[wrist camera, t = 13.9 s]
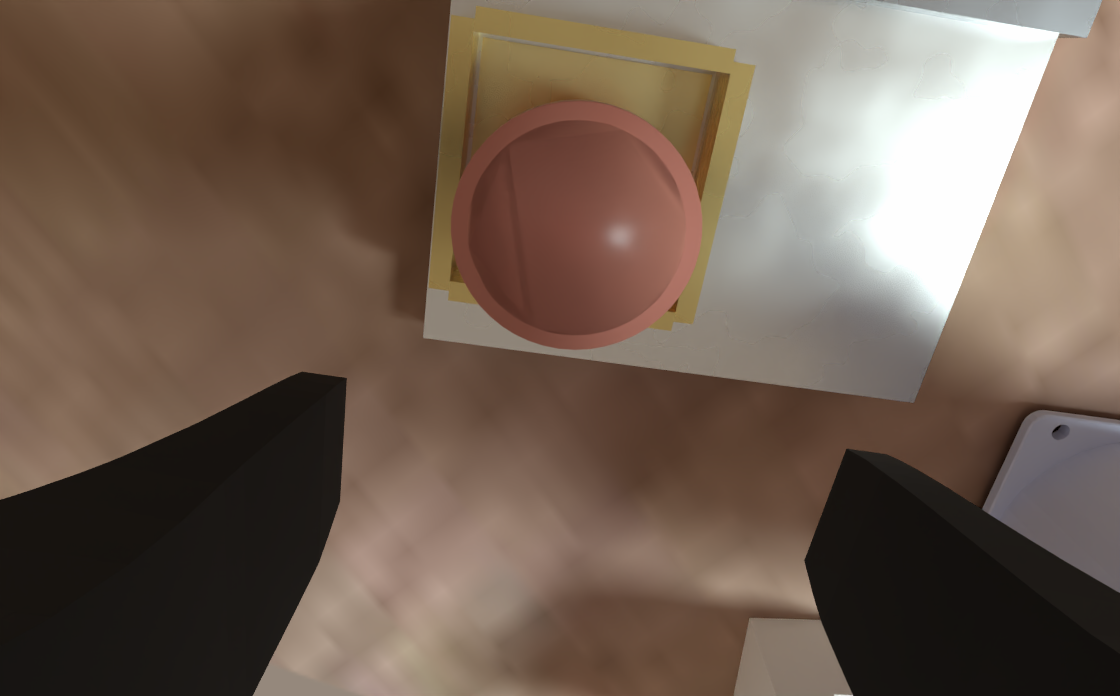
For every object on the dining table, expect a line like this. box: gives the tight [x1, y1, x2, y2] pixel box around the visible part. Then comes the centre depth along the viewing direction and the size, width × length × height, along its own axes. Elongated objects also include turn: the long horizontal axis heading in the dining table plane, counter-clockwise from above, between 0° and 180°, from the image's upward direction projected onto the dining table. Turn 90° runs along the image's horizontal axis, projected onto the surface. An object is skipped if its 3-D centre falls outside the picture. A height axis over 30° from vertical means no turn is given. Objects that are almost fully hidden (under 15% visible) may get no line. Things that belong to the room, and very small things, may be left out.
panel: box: [423, 0, 1102, 403], centre depth 16 cm, size 14×18×2 cm
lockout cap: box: [451, 99, 702, 350], centre depth 15 cm, size 5×5×5 cm
